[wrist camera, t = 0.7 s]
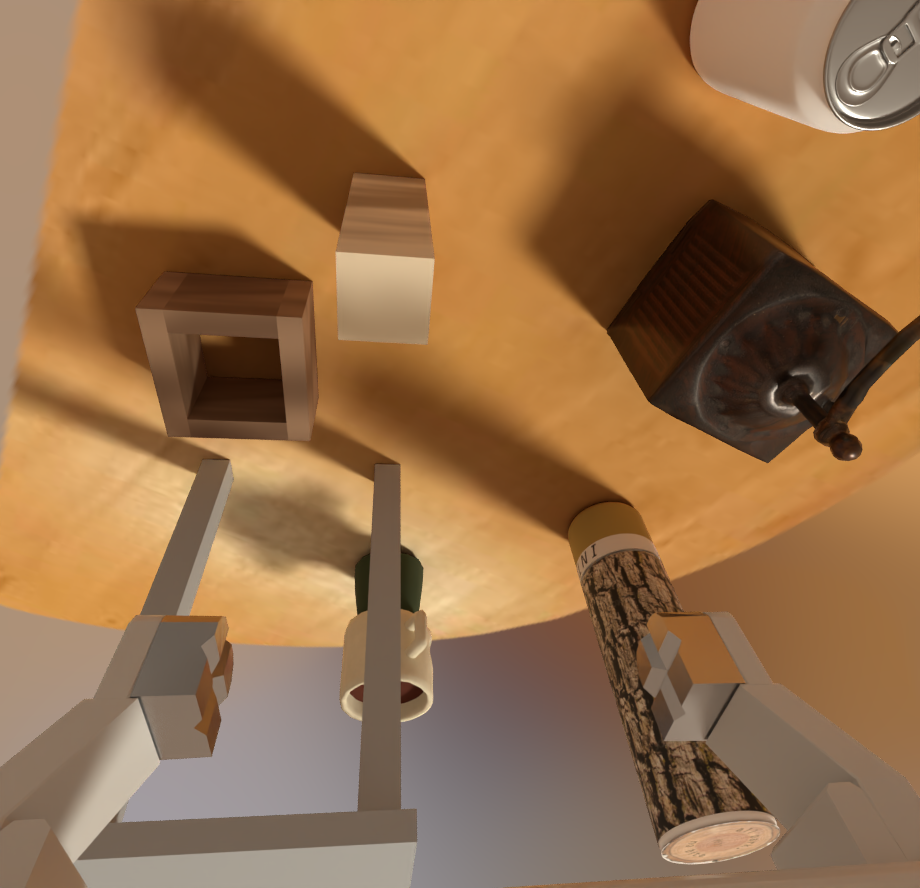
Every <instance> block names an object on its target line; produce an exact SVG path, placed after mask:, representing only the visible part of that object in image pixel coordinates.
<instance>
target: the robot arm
mask: <svg viewBox="0 0 920 888" xmlns="http://www.w3.org/2000/svg"><path fill="white" fill-rule="evenodd" d="M647 627H648V629H649V632H650V633H649V634H648V635H646V636H645V637H643V638H642V639H641V640H640V643H639V646H638V648H637V669H638V674H639V678H640V680H641V683H642V686H643V688H644V689H645V690H647V691H648V692H649V693H650V694H651V695H652V696H653V697H654V701H653V704H652V707H651V709H652V712H653V715H654V717H655V720H656V722H657V725H658V727H659V730H660V733H661V735H662V738H663V740H664V741H706V744H707V745H708V746H709V748H710V749H711V750H712V751H713V752H714V753H715V754H716V755H717V756H718V757H719V758H720V759H721V760H722V761H723V762H724V763H725V764H726V766H727V767H728V768H729V769H730V770H731V771H732V772H733V773H734V774H735V775H736V776H737V777H738V778H739V779H740V780H741V781H742V783H743V784H744V785H745V786H746V787H747V788H748V789H749V790H750V791H751V792H752V793H753V794H754V795H755V796H756V797H757V798H758V800H759V801H760V802H761V803H762V804H763V805H764V806H765V807H766V808H767V809H768V810H769V811H770V812H771V813H772V814H773V815H774V817H775V818H776V819H777V820H778V821H779V822H780V823H781V824H782V825H783V826H784V827H785V828H786V829H787V830H788V831H787V832H786V833H785V835H784V836H783V837H782V838H781V839H780V840H779V842H778V843H777V844H776V845H775V846H774V848H773V850H772V853H771V857H772V859H773V861H774V864H775V866H776V868H777V870H769V871H768V870H767V871H752V872H737V873H722V874H706V875H690V876H675V877H660V878H644V879H628V880H613V881H598V882H583V883H567V884H552V885H537V886H520V887H505V888H920V798H919V796H918V795H917V793H916V792H915V791H914V789H913V788H912V786H911V785H910V783H909V782H908V780H907V779H906V778H905V777H904V776H902V775H901V774H900V773H899V772H897V771H896V770H895V769H893V768H892V767H891V766H889V765H888V764H887V763H885V762H884V761H883V760H881V759H880V758H879V757H877V756H876V755H875V754H873V753H872V752H871V751H869V750H868V749H867V748H865V747H864V746H863V745H861V744H860V743H859V742H857V741H856V740H855V739H853V738H852V737H851V736H850V735H848V734H847V733H845V732H844V731H843V730H842V729H840V728H839V727H837V726H836V725H835V724H834V723H832V722H831V721H830V720H828V719H827V718H825V717H824V716H823V715H822V714H820V713H819V712H818V711H816V710H815V709H814V708H812V707H811V706H809V705H808V704H807V703H806V702H804V701H803V700H802V699H800V698H799V697H798V696H796V695H795V694H794V693H792V692H791V691H790V690H788V689H787V688H786V687H784V686H783V685H782V684H775V683H773V682H772V681H771V679H770V677H769V675H768V674H767V672H766V670H765V669H764V667H763V665H762V664H761V662H760V661H759V659H758V657H757V656H756V654H755V652H754V650H753V649H752V647H751V645H750V644H749V642H748V640H747V639H746V637H745V635H744V634H743V632H742V630H741V629H740V627H739V625H738V623H737V622H736V620H735V618H734V617H733V616H732V615H731V614H730V613H728V612H659V613H654V614H653V615H651V616H650V618H649V620H648V623H647ZM228 629H229V628H228V624H227V619H226V617H224V616H180V615H136V616H135V617H134V618H133V619H132V620H131V621H130V623H129V624H128V626H127V628H126V630H125V632H124V635H123V637H122V639H121V641H120V643H119V645H118V647H117V649H116V652H115V654H114V656H113V658H112V660H111V662H110V664H109V667H108V669H107V671H106V673H105V675H104V677H103V679H102V681H101V684H100V686H99V688H98V690H97V692H96V694H95V696H94V698H93V699H84V700H83V701H81V702H80V703H79V704H78V705H76V706H75V707H74V708H73V709H71V710H70V711H69V712H68V713H67V714H65V715H64V716H63V717H62V718H60V719H59V720H58V721H57V722H55V723H54V724H53V725H52V726H50V727H49V728H48V729H47V730H46V731H44V732H43V733H42V734H41V735H39V736H38V737H37V738H36V739H35V740H33V741H32V742H31V743H30V744H28V745H27V746H26V747H25V748H24V749H22V750H21V751H20V752H19V753H17V754H16V755H15V756H14V757H12V758H11V759H10V760H9V761H7V762H6V763H5V764H4V765H3V766H1V767H0V888H88V887H87V885H86V883H85V882H84V880H83V879H82V877H81V875H80V874H79V872H78V871H77V869H76V867H75V866H74V864H73V863H74V862H75V861H76V860H77V859H78V858H79V857H80V855H81V854H82V853H83V852H84V851H85V850H86V848H87V847H88V846H89V845H90V844H91V843H92V842H93V840H94V839H95V838H96V837H97V836H98V835H99V833H100V832H101V831H102V830H103V829H104V828H105V826H106V825H107V824H108V823H109V822H110V821H111V820H112V818H113V817H114V816H115V815H116V814H117V813H118V811H119V810H120V809H121V808H122V807H123V806H124V805H125V803H126V802H127V801H128V800H129V798H131V796H132V795H133V794H134V793H135V792H136V791H137V790H138V788H139V787H140V786H141V785H142V784H143V783H144V781H145V780H146V779H147V778H148V777H149V776H150V774H151V773H152V772H153V771H154V770H155V769H156V768H157V766H158V765H159V764H160V760H167V759H184V758H200V757H212V754H213V750H214V746H215V742H216V739H217V735H218V731H219V727H220V723H221V716H220V712H219V705H220V704H221V703H222V702H223V701H224V700H225V699H226V698H227V697H228V693H229V689H230V685H231V680H232V671H233V650H232V645H231V644H230V643H229V642H228V641H226V636H227V633H228Z"/></svg>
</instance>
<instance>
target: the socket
mask: <svg viewBox="0 0 920 888" xmlns="http://www.w3.org/2000/svg"><path fill="white" fill-rule="evenodd" d="M135 310H136V314H137V317H138V321H139V325H140V329H141V333H142V337H143V341H144V345H145V349H146V353H147V357H148V360H149V364H150V368H151V372H152V376H153V380H154V384H155V388H156V392H157V396H158V399H159V403H160V407H161V411H162V415H163V419H164V423H165V427H166V431H167V435H168V437H198V438H229V439H261V440H292V441H311V435H312V430H313V425H314V419H315V414H316V409H317V404H318V398H319V396H318V377H317V358H316V339H315V320H314V301H313V283H312V281H301V280H285V279H270V278H255V277H240V276H225V275H209V274H194V273H179V272H163V273H162V275H161V276H160V277H159V278H158V280H157V281H156V282H155V284H154V285H153V286H152V287H151V289H150V290H149V291H148V292H147V294H146V295H145V296H144V298H143V299H142V300H141V301H140V303H139V304H138V305H137V306H136V308H135ZM200 335H216V336H235V337H254V338H273V339H279V349H280V360H281V370H282V380H276V379H254V378H231V377H209V376H207V370H206V365H205V360H204V354H203V349H202V344H201V338H200Z"/></svg>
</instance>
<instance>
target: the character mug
mask: <svg viewBox="0 0 920 888" xmlns="http://www.w3.org/2000/svg"><path fill="white" fill-rule="evenodd" d="M369 573H370V554H369V555H367V556H364V557H363V558H362V559H361V560H360V561H359V562H358V564H357V565H356V566H355V595H356V605H357V616H356V617H354V618H353V619H351V620H350V622H349V624H348V627H347V629H346V632H345V635H344V647H343V659H342V672H341V684H340V704H341V708H342V710H343V711H345V713H346V714H348V715H349V716H350V717H352V718H354V719H357V720H360V721H362V712H363V693H364V673H365V653H366V633H367V613H368V593H369ZM422 582H423V567H422V565H421V563H420V561H419V559H417V558H415V557H412V556H410V555H408V554H403V553H401V722H404V721H408V720H412V719H414V718H416V717H419V716H421V715H423V714H424V713H426V712H427V711H428V710H429V709H430V707H431V705H432V703H433V685H432V684H433V667H432V660H431V656H430V645H431V639H432V636H431V632H430V630H429V628H428V627H427V616H426V613H425V612H424V611H423V610H420V611H419V607H420V599H421V591H422Z"/></svg>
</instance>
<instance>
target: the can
mask: <svg viewBox="0 0 920 888" xmlns="http://www.w3.org/2000/svg"><path fill="white" fill-rule="evenodd" d="M690 50H691V57H692V61H693V65H694V67H695V69H696V71H697V73H698V74H699V75H700V77H701V78H702V79H703V80H704V81H705V82H706V83H707V84H708V85H710V86H711V87H712V88H714V89H715V90H717V91H719V92H721V93H724V94H726V95H728V96H731V97H733V98H736V99H739V100H741V101H744V102H746V103H749V104H752V105H754V106H757V107H759V108H762V109H765V110H767V111H770V112H773V113H775V114H778V115H780V116H783V117H786V118H789V119H791V120H794V121H797V122H799V123H802V124H805V125H808V126H810V127H813V128H816V129H820V130H823V131H827V132H832V133H854V132H859V131H876V130H883V129H887V128H891V127H894V126H897V125H899V124H902V123H904V122H906V121H908V120H910V119H912V118H914V117H915V116H917V115H919V114H920V0H698V3H697V5H696V8H695V11H694V15H693V19H692V24H691V31H690Z"/></svg>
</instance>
